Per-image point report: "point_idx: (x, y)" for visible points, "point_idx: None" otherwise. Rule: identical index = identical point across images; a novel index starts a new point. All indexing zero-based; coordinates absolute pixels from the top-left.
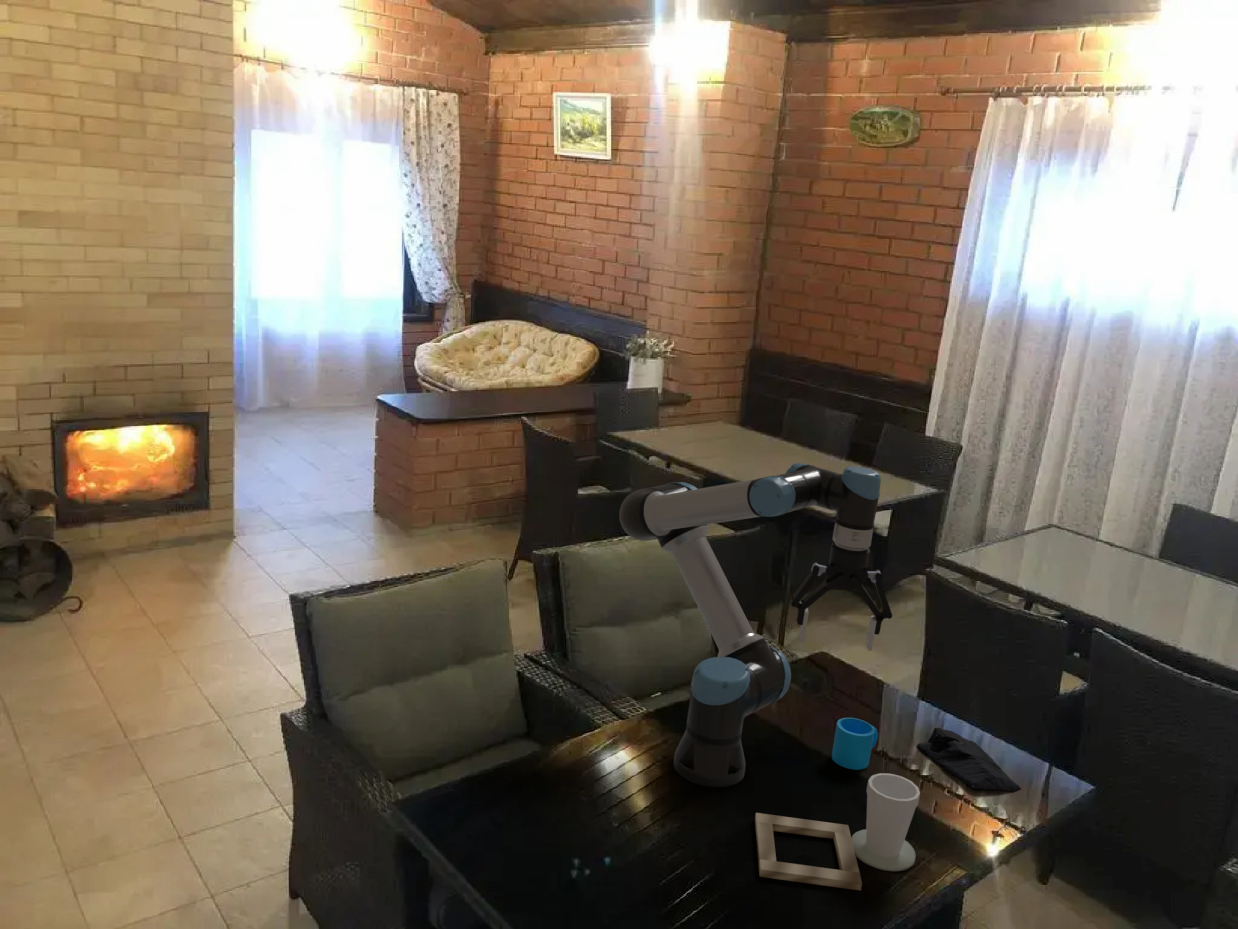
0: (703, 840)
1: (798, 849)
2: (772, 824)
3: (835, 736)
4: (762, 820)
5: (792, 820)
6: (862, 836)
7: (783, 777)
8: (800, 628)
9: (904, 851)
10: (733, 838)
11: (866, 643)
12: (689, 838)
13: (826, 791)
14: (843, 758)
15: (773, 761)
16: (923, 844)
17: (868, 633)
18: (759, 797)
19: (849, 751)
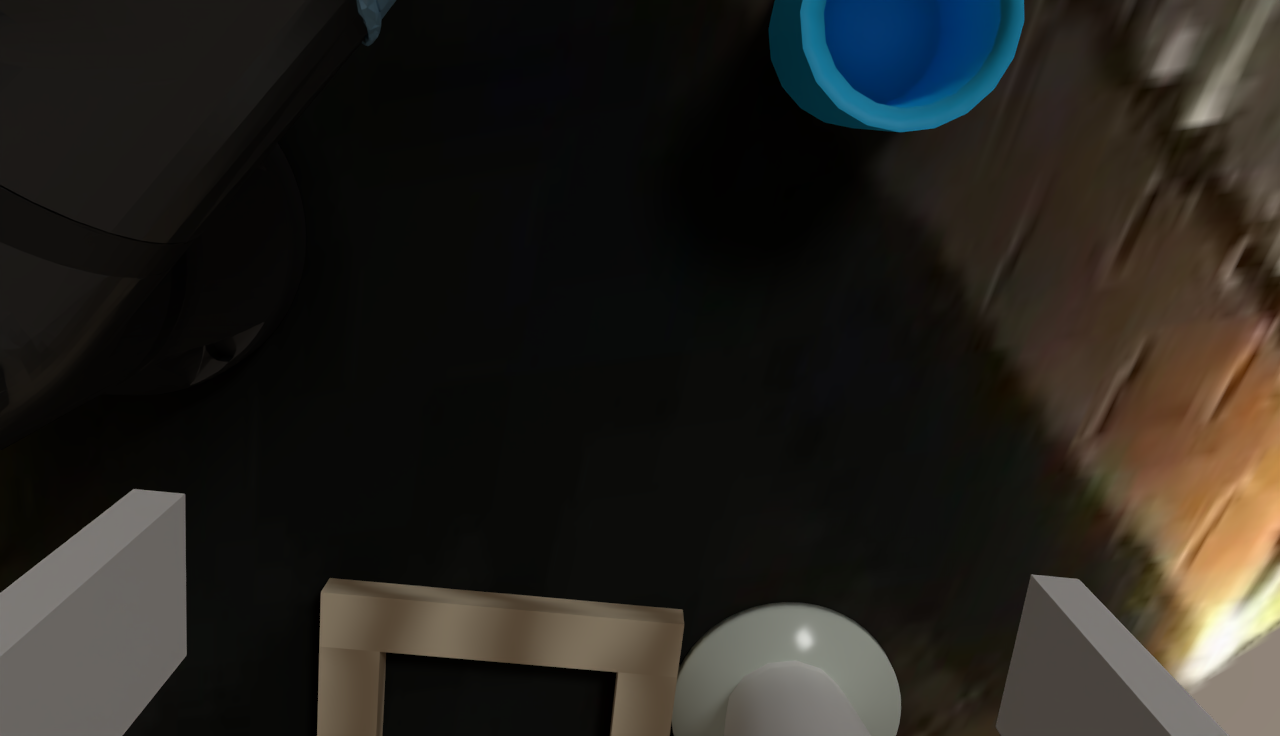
0: None
1: (475, 726)
2: (382, 649)
3: (787, 18)
4: (343, 636)
5: (463, 622)
6: (727, 659)
7: (489, 249)
8: (66, 544)
9: None
10: (242, 695)
11: (1038, 619)
12: None
13: (667, 338)
14: (807, 106)
15: (460, 108)
16: (959, 645)
17: (1109, 728)
18: (362, 423)
19: (837, 120)
